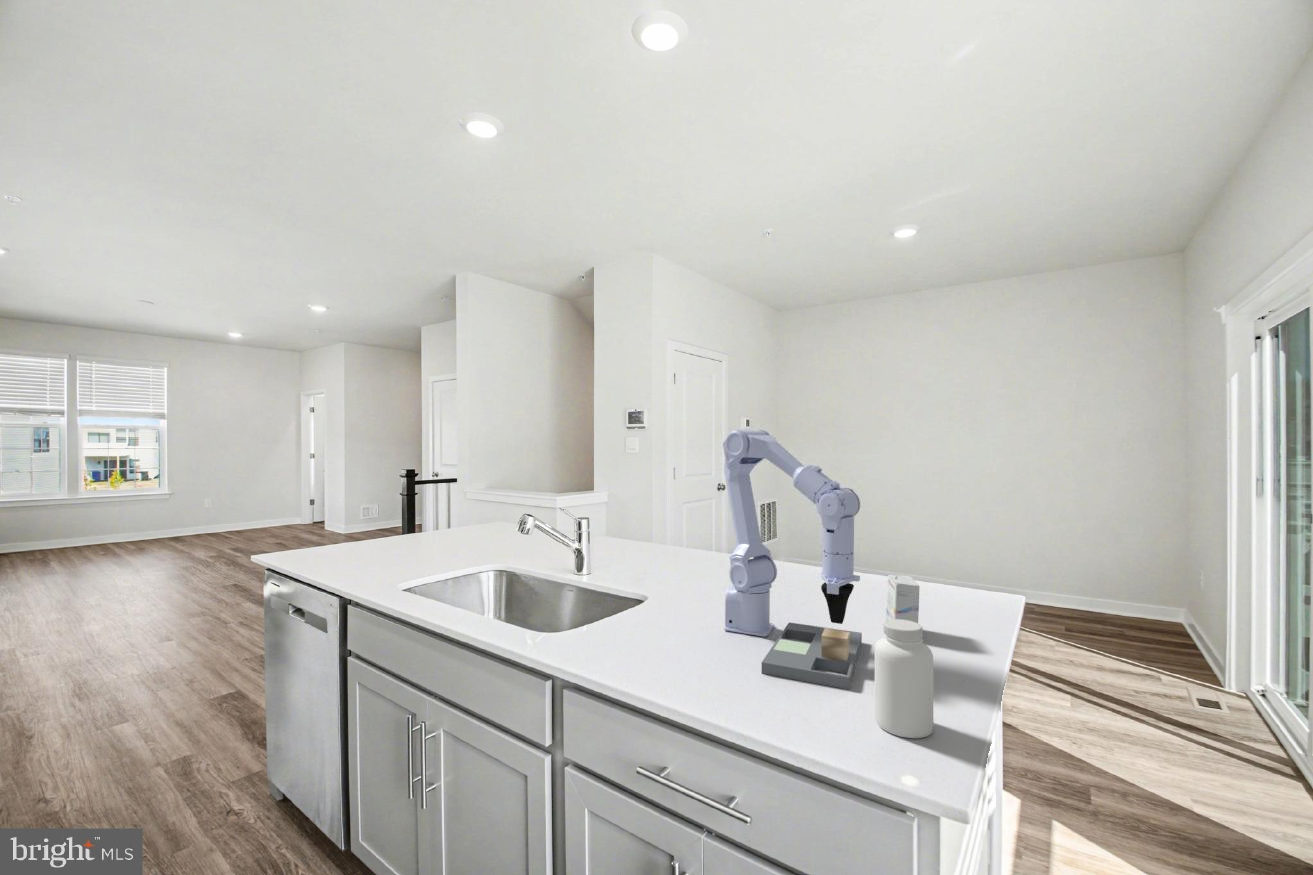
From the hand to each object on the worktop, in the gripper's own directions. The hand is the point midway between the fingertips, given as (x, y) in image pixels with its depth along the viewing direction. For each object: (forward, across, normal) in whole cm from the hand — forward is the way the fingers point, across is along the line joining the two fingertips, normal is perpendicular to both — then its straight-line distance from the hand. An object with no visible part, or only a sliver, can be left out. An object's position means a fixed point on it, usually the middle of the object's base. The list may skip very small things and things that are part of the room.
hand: (837, 622), depth 108 cm
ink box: (+7, +21, -11) cm, 25 cm away
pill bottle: (+7, -22, -12) cm, 26 cm away
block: (+5, -4, 0) cm, 6 cm away
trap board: (+7, -1, +4) cm, 8 cm away
